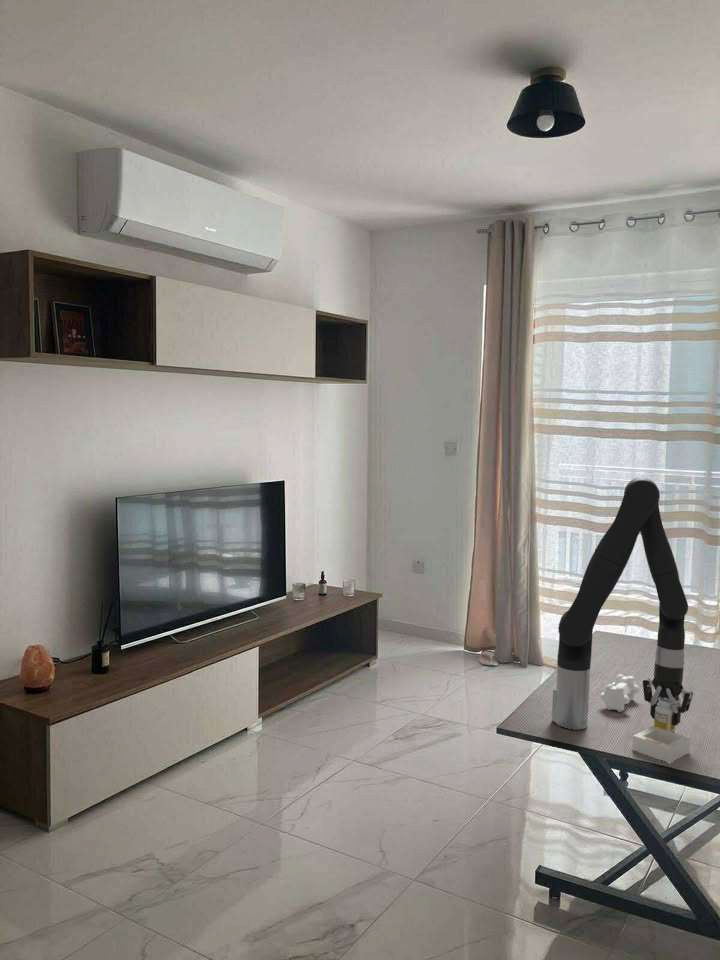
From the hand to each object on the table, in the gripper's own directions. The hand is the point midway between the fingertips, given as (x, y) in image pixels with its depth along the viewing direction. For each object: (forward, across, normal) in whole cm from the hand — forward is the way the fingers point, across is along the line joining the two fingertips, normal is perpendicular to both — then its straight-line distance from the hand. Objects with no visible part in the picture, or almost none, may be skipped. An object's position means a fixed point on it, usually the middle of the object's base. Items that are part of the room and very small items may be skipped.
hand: (664, 721), depth 223 cm
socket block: (+5, +4, -10) cm, 12 cm away
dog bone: (+5, -21, +13) cm, 26 cm away
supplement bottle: (+4, 0, 0) cm, 4 cm away
